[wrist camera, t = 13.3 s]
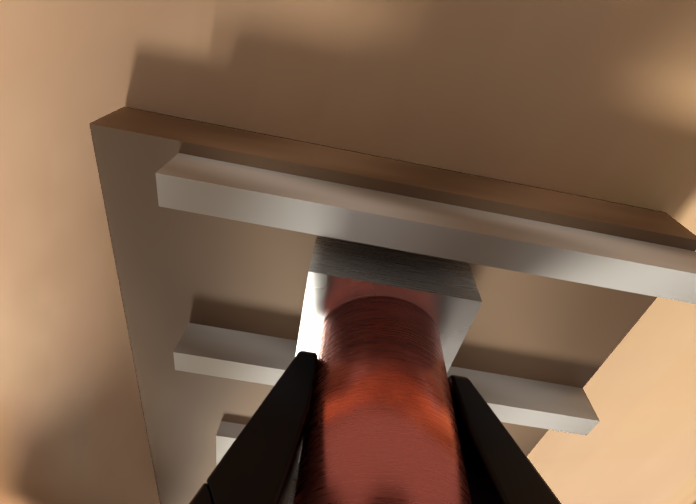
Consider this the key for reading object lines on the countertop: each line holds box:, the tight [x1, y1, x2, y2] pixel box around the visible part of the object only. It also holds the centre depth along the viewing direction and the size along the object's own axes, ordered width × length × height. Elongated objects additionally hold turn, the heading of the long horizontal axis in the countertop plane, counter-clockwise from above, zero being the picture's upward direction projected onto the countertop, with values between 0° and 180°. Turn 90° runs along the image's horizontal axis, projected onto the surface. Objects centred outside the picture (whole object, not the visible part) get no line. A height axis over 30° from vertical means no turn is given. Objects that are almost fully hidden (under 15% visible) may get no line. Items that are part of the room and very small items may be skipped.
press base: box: [90, 107, 696, 504], centre depth 15 cm, size 15×21×3 cm
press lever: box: [293, 235, 482, 504], centre depth 8 cm, size 4×4×7 cm
